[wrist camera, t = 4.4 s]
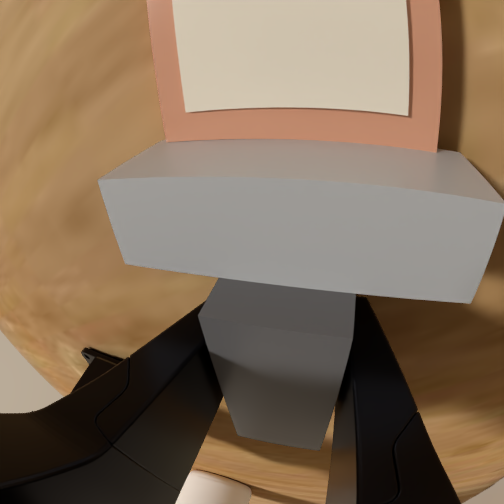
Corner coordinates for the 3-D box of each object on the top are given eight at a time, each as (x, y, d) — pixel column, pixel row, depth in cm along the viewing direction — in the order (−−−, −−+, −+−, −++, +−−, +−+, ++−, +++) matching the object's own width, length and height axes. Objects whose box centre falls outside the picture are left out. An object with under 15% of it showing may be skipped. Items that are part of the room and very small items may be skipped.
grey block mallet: (396, 364, 10) (392, 456, 7) (209, 339, 11) (172, 416, 9) (460, 152, 5) (534, 241, 3) (162, 140, 7) (62, 204, 4)
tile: (424, 138, 6) (437, 154, 5) (188, 129, 8) (164, 143, 7) (409, -83, 3) (418, -104, 2) (168, -64, 4) (139, -76, 3)
